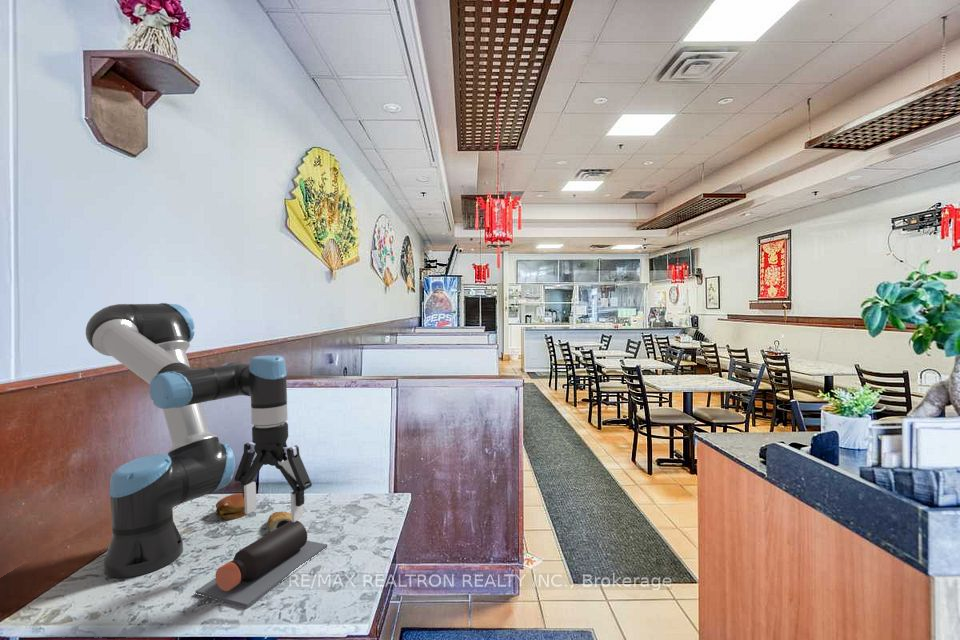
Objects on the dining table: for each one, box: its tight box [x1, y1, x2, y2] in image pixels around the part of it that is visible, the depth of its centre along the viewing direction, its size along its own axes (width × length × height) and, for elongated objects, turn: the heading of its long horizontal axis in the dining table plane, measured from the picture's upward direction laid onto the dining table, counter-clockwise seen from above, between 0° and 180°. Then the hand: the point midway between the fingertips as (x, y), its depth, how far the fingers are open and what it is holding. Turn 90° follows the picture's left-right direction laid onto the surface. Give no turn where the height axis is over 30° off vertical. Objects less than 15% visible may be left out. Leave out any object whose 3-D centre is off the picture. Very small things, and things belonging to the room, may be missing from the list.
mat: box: [195, 540, 328, 609], centre depth 105 cm, size 14×24×1 cm, turn 160°
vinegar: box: [215, 520, 308, 591], centre depth 103 cm, size 7×7×20 cm
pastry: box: [266, 511, 292, 533], centre depth 126 cm, size 9×7×4 cm
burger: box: [215, 492, 247, 521], centre depth 135 cm, size 10×9×5 cm
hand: (273, 515), depth 107 cm, fingers open, 13 cm apart
